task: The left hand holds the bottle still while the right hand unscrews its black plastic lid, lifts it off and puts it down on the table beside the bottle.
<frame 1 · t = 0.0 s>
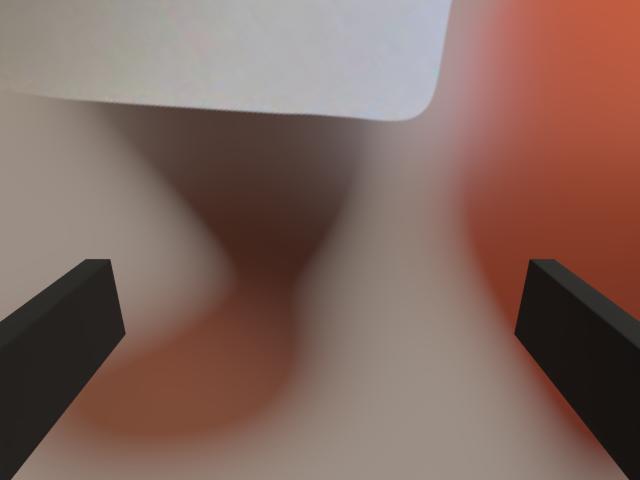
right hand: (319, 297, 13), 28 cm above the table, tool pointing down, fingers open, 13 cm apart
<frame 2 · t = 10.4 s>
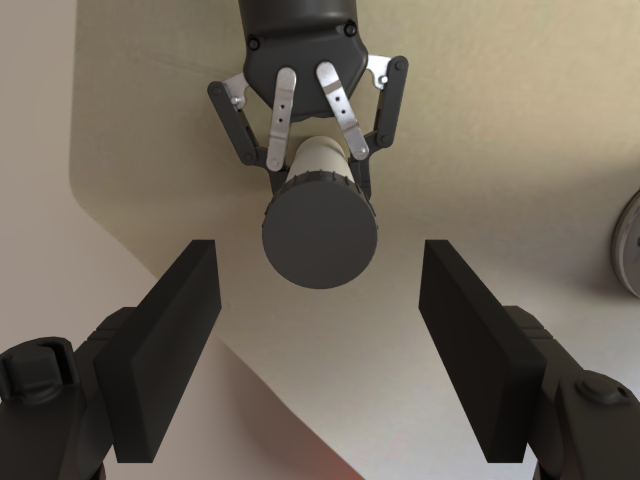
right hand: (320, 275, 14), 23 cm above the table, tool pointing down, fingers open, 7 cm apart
left hand: (324, 210, 31), fingers closed on bottle, 4 cm apart
lid: (319, 235, 18), point 19 cm above the table, screwed on, not yet turned
bottle: (320, 161, 36), on the table, touching left hand
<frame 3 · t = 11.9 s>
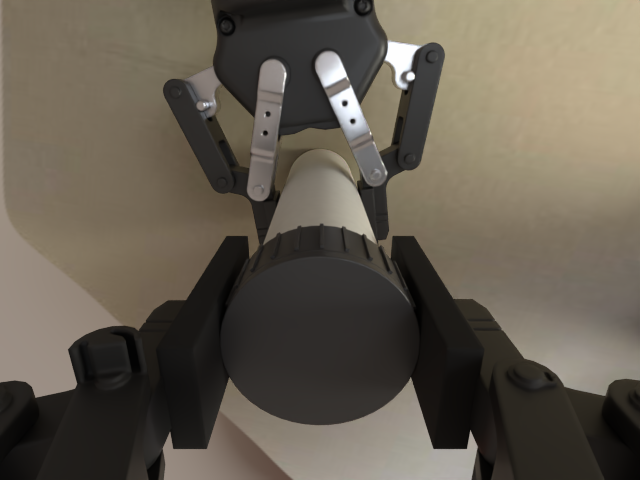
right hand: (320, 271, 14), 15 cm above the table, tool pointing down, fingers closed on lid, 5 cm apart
left hand: (326, 249, 23), fingers closed on bottle, 4 cm apart
lid: (320, 340, 11), point 19 cm above the table, screwed on, not yet turned, touching right hand
bottle: (320, 180, 29), on the table, touching left hand
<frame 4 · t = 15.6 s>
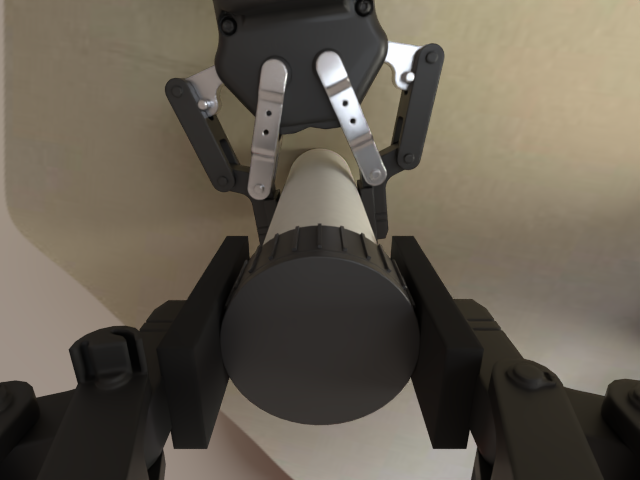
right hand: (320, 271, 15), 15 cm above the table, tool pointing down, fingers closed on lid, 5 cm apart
left hand: (326, 248, 23), fingers closed on bottle, 4 cm apart
lid: (320, 340, 11), point 19 cm above the table, turned 112° so far, risen 0.2 cm, still on its thread, touching right hand
bottle: (320, 180, 29), on the table, touching left hand
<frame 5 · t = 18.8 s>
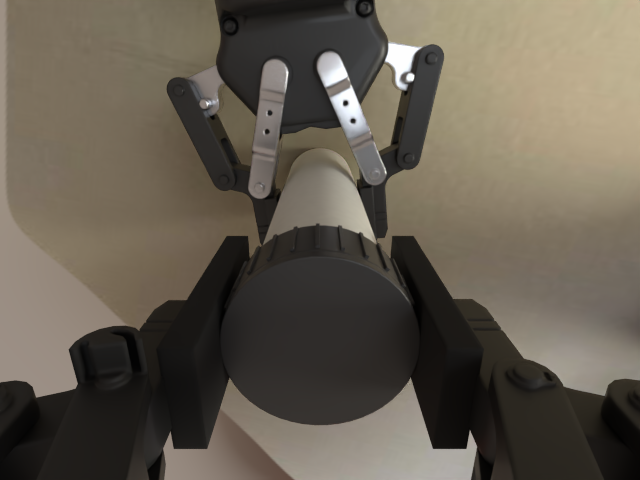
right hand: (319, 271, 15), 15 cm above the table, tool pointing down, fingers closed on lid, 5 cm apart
left hand: (325, 247, 24), fingers closed on bottle, 4 cm apart
lid: (320, 340, 11), point 20 cm above the table, turned 225° so far, risen 0.4 cm, still on its thread, touching right hand
bottle: (320, 179, 29), on the table, touching left hand
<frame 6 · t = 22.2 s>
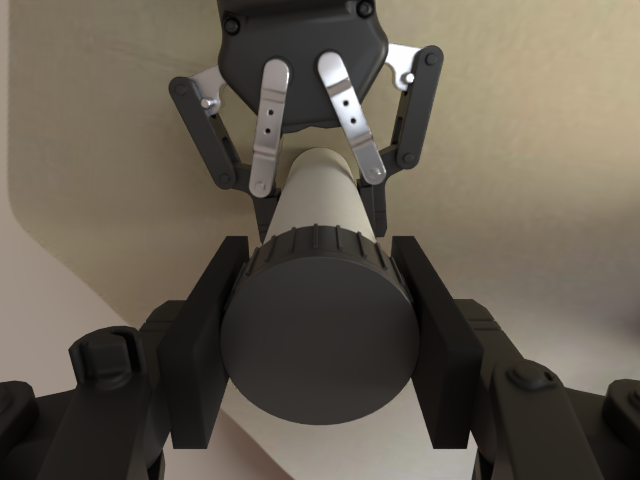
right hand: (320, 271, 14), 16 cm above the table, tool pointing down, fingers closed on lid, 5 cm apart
left hand: (325, 246, 24), fingers closed on bottle, 4 cm apart
lid: (320, 340, 11), point 20 cm above the table, turned 337° so far, risen 0.5 cm, still on its thread, touching right hand
bottle: (320, 179, 29), on the table, touching left hand
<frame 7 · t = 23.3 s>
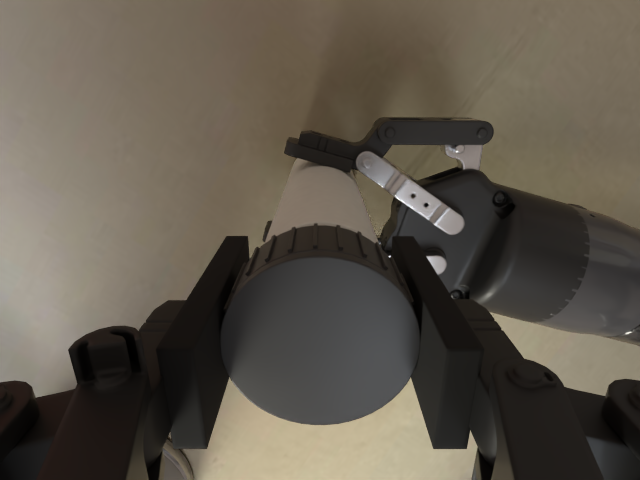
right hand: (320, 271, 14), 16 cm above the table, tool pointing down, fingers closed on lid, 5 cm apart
left hand: (276, 190, 23), fingers closed on bottle, 4 cm apart
lid: (320, 340, 11), point 20 cm above the table, off its thread, touching right hand
bottle: (321, 177, 29), on the table, touching left hand
when the right hand's fingers open (0 cm above the table, at t = 29.8 s): lid drops 2 cm, point 2 cm above the table.
when the left hand's fingers open (7 cm above the table, at t = 30.4 s): bottle stays where it is, on the table.
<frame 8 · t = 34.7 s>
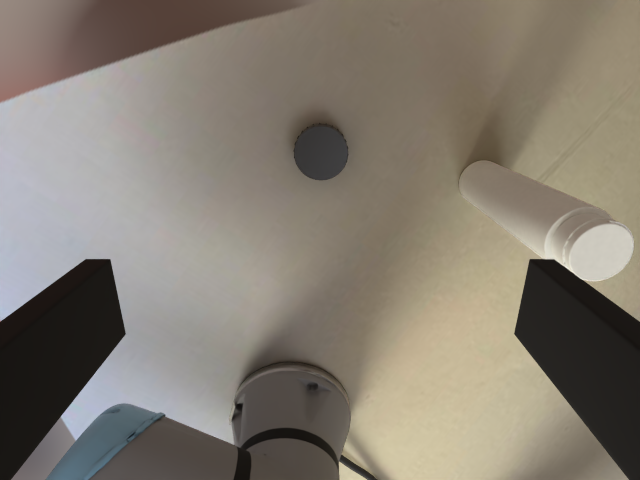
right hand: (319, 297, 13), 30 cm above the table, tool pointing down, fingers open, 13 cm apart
lid: (321, 153, 39), point 2 cm above the table, off its thread
bottle: (480, 182, 42), on the table
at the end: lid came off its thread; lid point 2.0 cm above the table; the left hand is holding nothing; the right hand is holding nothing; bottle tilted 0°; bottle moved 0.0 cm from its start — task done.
